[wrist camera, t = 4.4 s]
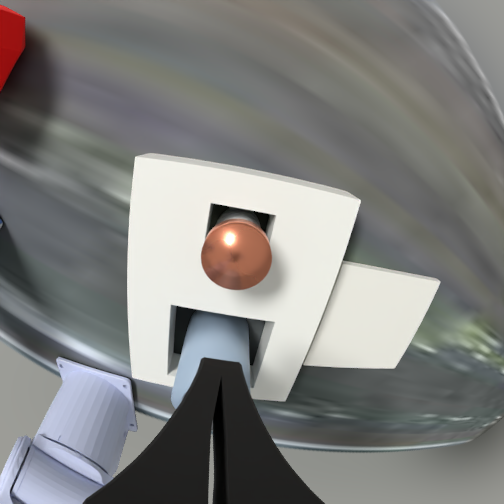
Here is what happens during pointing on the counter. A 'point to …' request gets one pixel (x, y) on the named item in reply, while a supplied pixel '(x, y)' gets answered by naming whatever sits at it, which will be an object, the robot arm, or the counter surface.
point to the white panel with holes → (210, 294)
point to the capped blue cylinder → (211, 347)
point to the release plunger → (236, 251)
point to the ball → (10, 41)
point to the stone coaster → (370, 317)
